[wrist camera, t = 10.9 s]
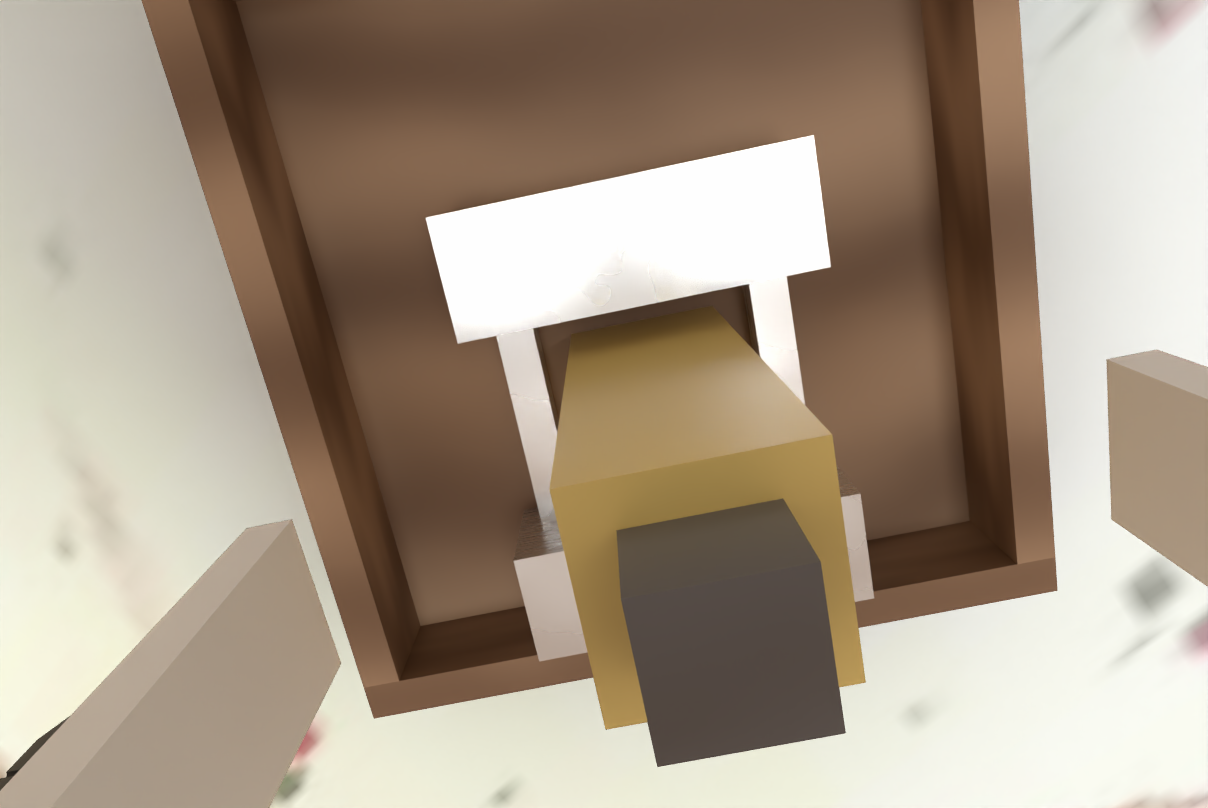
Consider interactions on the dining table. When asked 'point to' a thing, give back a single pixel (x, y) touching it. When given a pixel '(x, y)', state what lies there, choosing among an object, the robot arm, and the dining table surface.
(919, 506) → the box
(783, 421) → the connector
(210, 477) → the dining table surface
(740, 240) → the inlet
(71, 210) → the dining table surface
